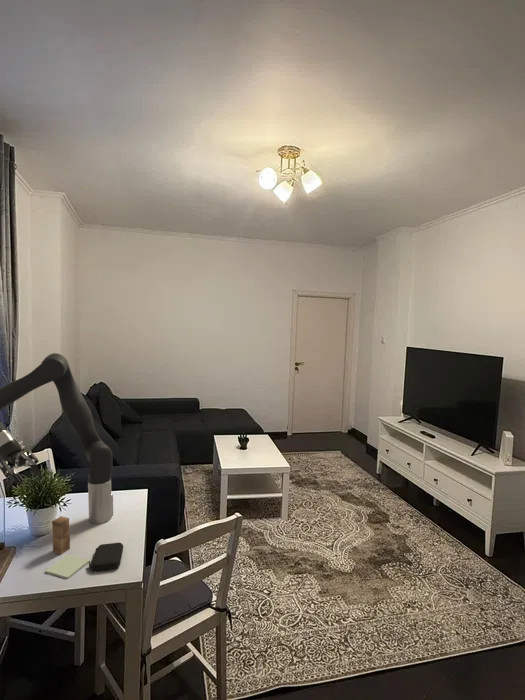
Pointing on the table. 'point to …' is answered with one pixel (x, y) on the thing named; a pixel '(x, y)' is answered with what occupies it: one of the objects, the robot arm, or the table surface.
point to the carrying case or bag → (107, 557)
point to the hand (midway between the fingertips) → (30, 478)
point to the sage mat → (67, 566)
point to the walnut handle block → (61, 535)
